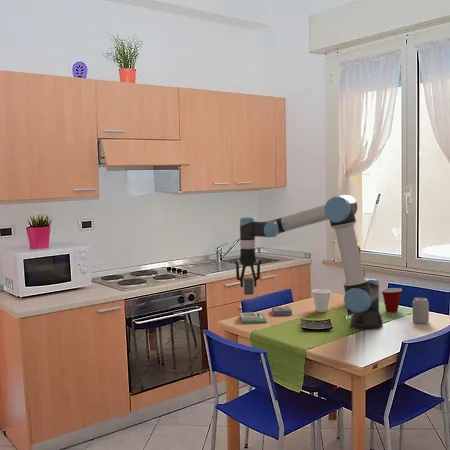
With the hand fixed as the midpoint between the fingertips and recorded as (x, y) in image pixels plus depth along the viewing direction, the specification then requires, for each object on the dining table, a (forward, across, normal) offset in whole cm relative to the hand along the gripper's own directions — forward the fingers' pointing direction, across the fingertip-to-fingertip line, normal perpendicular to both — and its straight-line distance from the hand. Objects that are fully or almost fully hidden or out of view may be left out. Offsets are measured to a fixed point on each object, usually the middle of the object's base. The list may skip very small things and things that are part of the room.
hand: (248, 293), depth 277 cm
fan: (+14, -19, -11) cm, 26 cm away
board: (+14, -2, -1) cm, 14 cm away
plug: (0, 0, 0) cm, 0 cm away
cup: (+14, -41, -12) cm, 45 cm away
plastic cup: (+14, -77, -5) cm, 79 cm away
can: (+14, -83, +18) cm, 86 cm away
